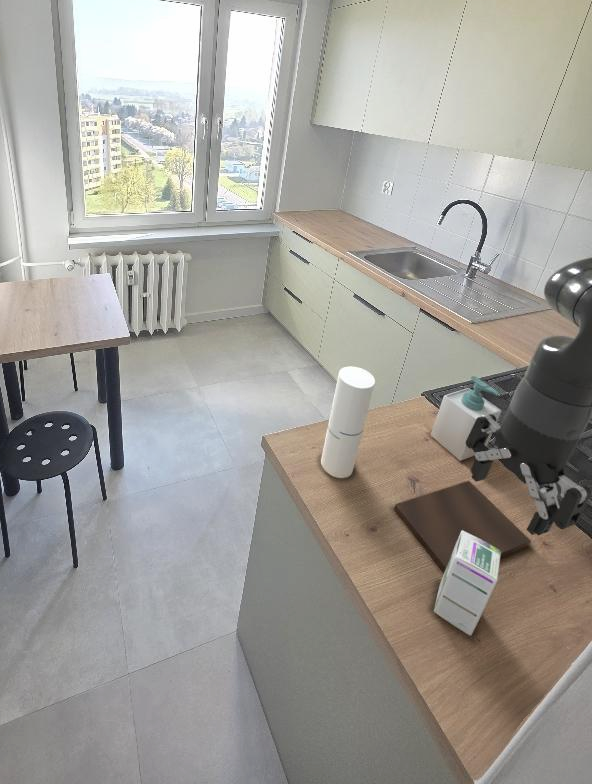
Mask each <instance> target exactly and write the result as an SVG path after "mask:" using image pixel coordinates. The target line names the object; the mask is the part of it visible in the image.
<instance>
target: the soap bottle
mask: <svg viewBox="0 0 592 784" xmlns="http://www.w3.org/2000/svg"><path fill="white" fill-rule="evenodd" d="M470 380H471V381H473V383H474V384H473V389H471V388H470V387H467V388H464V389H460V390H457V391H453V392H450V393H448V394H445V395H443V398H442V399H441V403H440V406H439V410H438V412H437V416H436V417H435V418H436V419H435V421H434V424H433V427H432V430H431V433H430V436H431V437H432V438H433V439H434V440H435V441H436V442H438V443H439V445H441V446H442V447H443V448H444V449H445V450H447V451H448V452H449V453H450V454H451V455H453V457H455V458H456V459H457V460H458V461H459V462H461V461H464V460H467V459H469V458H471V457H475V452H474V451H473V450H472V449H470V448H468V447H467V446H466V440H467V438H468V436H469V434H470V432H471V429H472V427H473V425H474V423H475V421H476V419H477V418H478V417H481V416H485V415H489V414H493V415H494V416H495V417H496V422H497V423H498V420H499V418H500V416H501V413H502V410H501V409H500V408H499V407H497V406H496V405H495V404H493V403H492V402H490V401H488V399H486V398H484V396H483V394H482V393H481V392H482V391H483V392H486V393H490V394H492V395H494V396H496V397H499V396H500V395H501V394H500V392H499V391H497V390H496V389H495V388H494V387H491V386H490V385H488V384H487V383H486V382H484V381H483V380H482V379H480V378H479V377H477V376H476V375H475V376H474V375H473V376H470ZM492 435H493V433H490V434H489V436H488V438H487V440H486V442H485V444H484V445H485V446H486V447H487V448H488V445H489V442H490V440H491V437H492Z"/></svg>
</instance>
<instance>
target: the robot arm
mask: <svg viewBox="0 0 592 784" xmlns="http://www.w3.org/2000/svg"><path fill="white" fill-rule="evenodd" d="M543 295H544V296H543V297H544V299H545V301H546V303H547V305H549V306H550V308H551V309H552V310H553V311H555V312H556V313H557V314H559V315H560V316H562V317H563V318H564V319H566V320H568V321H569V322H571V323H572V324H573V325H574V326H576V327H577V328H579V329H578V332H577V334H576V336H575V337H572V336H567V335H551V336H550V335H549V336H547V337H545V338H543V339H542V340H541V341H540V342H539V343H538V344H537V346H536V349H535V350H534V353H533V355H532V357H531V359H530V362H529V364H528V367H527V369H526V371H525V373H524V376H523V377H522V379H521V380H520V382H519V383H518V385H517V386H516V389H515V391H514V392H513V394H512V396H511V400H510V403H509V405H508V407H507V409H506V412H505V414H504V416H503V419H502V421H501V424H500V423H498V421H497V422H496V417H495V416H494V415H493V414H489V415H485V416H481V417H478V418H477V419H476V421H475V423H474V425H473V427H472V429H471V432H470V434H469V436H468V438H467V440H466V446H467V447H468V448H470V449H472V450H473V451H474V452H475V455H474V458H475V459H474V461H473V463H472V465H471V468H470V473H471V479H472V480H473V481H475V482H480V481H484V480H485V479H486V478H487V477H488V475H489V472H490V469H491V468H492V466H493V463H494V461H495V460H501V462H502V463H503V464H502V466H503V467H504V468H505V469H506V470H508V471H509V472H511V473H512V474H514V475H515V476H516V477H517V479H518V480H520V482H522V483H523V484H526V487H527V491H528V493H529V497H530V498H531V499H533V500H534V504H535V507H536V510H537V511H535V512H534V514H533V516H532V518H531V520H530V522H529V524H528V526H527V528H526V531H527V532H528V533H529V534H530V535H532V536H534V535H537V536H541V535H544V534H546V533H548V532H549V531H550V530H551V529H552V526H553V525H554V524H555V526H556V527H557V528H558V529H560V530H565V529H567V528H570V527H573V526H574V525H577V524H578V523H579V521H580V519H581V517H582V515H583V512H584V511H585V508H586V507H587V504H588V502H589V500H590V497H591V496H592V490H591V488H590V487H589V486H588V485H586V484H579V485H578V484H577V483H575V482H574V481H573V480H572V479H570V477H567V476H566V471H565V466H566V465H567V464H568V463H569V461H570V458H571V456H572V455H573V453H574V451H575V449H576V447H577V446H578V443H579V442H580V440H581V438H582V436H583V434H584V432H585V431H586V429H587V427H588V424H589V423H590V420H591V418H592V257H587V258H582V259H579V260H576V261H575V260H574V261H572V262H571V263H567V264H566V265H564V266H562V267H561V268H559V269H557V270H556V271H555V272H554V273H552V274H551V276H549V278H548V279H547V281H546V282H545V284H544V289H543ZM490 433H492V434H493V433H494V439H495V440H494V441H495V443H496V447H490V448H488V446H487V447H486V446H485V445H484V444H485V442H486V440H487V438H488V436H489V434H490ZM557 484H558V485H559V487H560V494H559V489H558V486H557ZM541 485H543V487H542V488H540V486H541ZM559 495H560V497H561V498H562V500H561V502H560V503H559V500H558V496H559Z"/></svg>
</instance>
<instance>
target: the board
mask: <svg viewBox="0 0 592 784" xmlns="http://www.w3.org/2000/svg"><path fill="white" fill-rule="evenodd" d="M393 510H394V511H395V512H396V514H397V515H398V517H399V518H400V519H401V520H402V522H403V523H404V524H405V525H406V526H407V528H408V529H409V531H410V532H411V533H412V534H413V536H414V537H415V538H416V540H417V541H418V542H419V543H420V544H421V546H422V547H423V548H424V550H425V551H426V552H427V554H429V556H430V557H431V559H432V560H433V561H434V562H435V564H436V565H437V566H438V567H439V568H440V570H441V571H442V572H443V573H444V572H445V570H446V567H447V565H448V562H449V560H450V558H451V555H452V552H453V550H454V547H455V545H456V542H457V540H458V538H459V535H460V533H461V531H462V530H463V531H465V532H467V533H469V534H471V535H473V536H475V537H477V538H479V539H481V540H483V541H485V542H487V543H488V544H490V545H492V546H493V547H495V548H497V549H498V550H500V551H501V555H500V558H502V557H505V556H508V555H510V554H513V553H515V552H517V551H520V550H522V549H525V548H527V547H530V544H531V542H532V540H531V539H530V538H529V537H528V536H527V535H526V534H524V532H523V531H522V530H521V529H519V527H517V526H516V524H515V523H513V521H511V520H510V519H509V518H508V517H507V516H506V515H505V514H504V513H503V512H502V510H500V509H499V508H498V507H497V506H496V505H495V504H494V503H492V501H491V500H489V498H487V497H486V495H484V494H483V492H481V491H480V490H479V489H478V487H476V486H475V485H474V484H473V483H472V482H471V481H470V480H467V481H463V482H461V483H458V484H455V485H451V486H447V487H445V488H442V489H439V490H436V491H433V492H430V493H426V494H423V495H420V496H417V497H414V498H411V499H407V500H404V501H401V502H397V503H395V505H394V507H393Z"/></svg>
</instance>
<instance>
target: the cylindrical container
mask: <svg viewBox="0 0 592 784" xmlns="http://www.w3.org/2000/svg"><path fill="white" fill-rule="evenodd" d="M337 375H338V376H337V380H336V385H335V390H334V395H333V399H332V404H331V408H330V409H331V410H330V414H329V420H328V425H327V429H326V434H325V439H324V444H323V448H322V453H321V458H320V464H321V467H322V469H323V470H324V471H325V472H326V473H327V474H328V475H330V476H331V477H335V478H338V479H345V478H349V477H350V476H351V475H352V474H353V471H354V468H355V463H356V459H357V456H358V451H359V448H360V444H361V439H362V435H363V432H364V428H365V424H366V419H367V416H368V411H369V408H370V404H371V400H372V395H373V392H374V388H375V384H376V379H375V377H374V375H373V374H372V373H370V372H369V371H368V370H366V369H364V368H361V367H358V366H352V365H351V366H350V365H349V366H344V367H342V368H340V369H339V371H338V374H337Z"/></svg>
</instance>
